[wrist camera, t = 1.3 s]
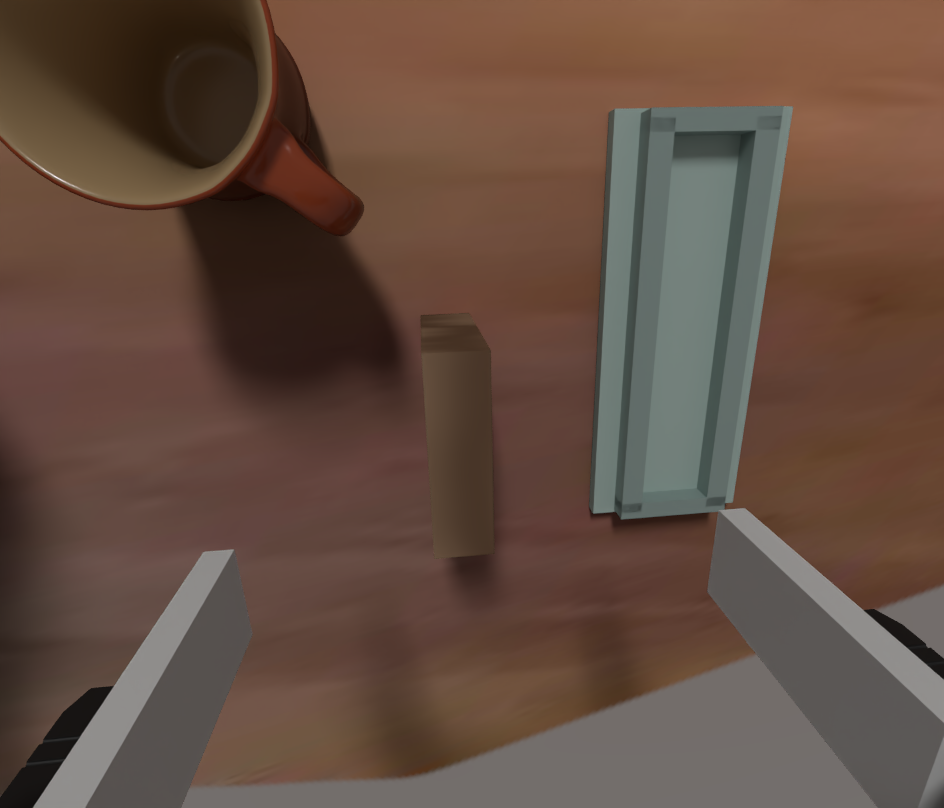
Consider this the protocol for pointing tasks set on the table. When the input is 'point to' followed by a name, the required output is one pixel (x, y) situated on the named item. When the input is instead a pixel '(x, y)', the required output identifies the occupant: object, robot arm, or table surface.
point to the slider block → (458, 434)
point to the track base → (681, 302)
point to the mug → (163, 105)
